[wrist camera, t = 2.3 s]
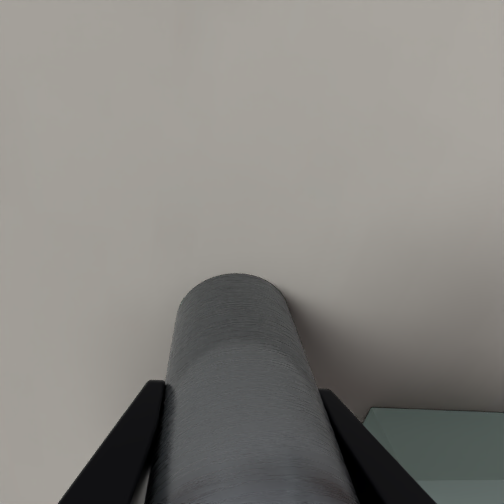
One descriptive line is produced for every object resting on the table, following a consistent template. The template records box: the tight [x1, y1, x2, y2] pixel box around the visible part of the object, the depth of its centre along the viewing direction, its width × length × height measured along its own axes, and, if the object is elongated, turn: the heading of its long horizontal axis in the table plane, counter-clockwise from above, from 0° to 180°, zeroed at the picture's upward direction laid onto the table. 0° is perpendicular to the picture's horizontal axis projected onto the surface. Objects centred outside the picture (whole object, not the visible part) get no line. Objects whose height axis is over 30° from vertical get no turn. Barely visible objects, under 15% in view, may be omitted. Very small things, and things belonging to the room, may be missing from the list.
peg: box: [144, 273, 360, 504], centre depth 6 cm, size 4×4×10 cm
